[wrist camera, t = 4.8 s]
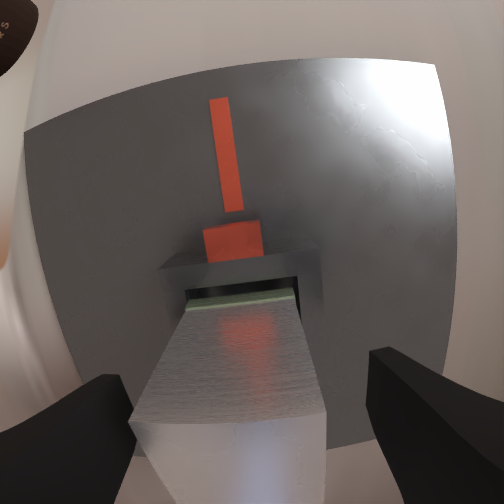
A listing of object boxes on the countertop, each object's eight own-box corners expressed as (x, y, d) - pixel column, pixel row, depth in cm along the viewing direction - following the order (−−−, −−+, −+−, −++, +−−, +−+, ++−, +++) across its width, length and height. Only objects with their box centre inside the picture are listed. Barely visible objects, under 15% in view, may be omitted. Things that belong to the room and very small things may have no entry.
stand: (424, 413, 17) (443, 444, 13) (125, 445, 18) (111, 477, 15) (425, 70, 12) (460, 50, 9) (34, 133, 13) (-6, 128, 10)
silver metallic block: (300, 372, 11) (325, 504, 5) (209, 381, 12) (180, 511, 5) (292, 287, 11) (329, 409, 5) (189, 299, 11) (124, 419, 5)
